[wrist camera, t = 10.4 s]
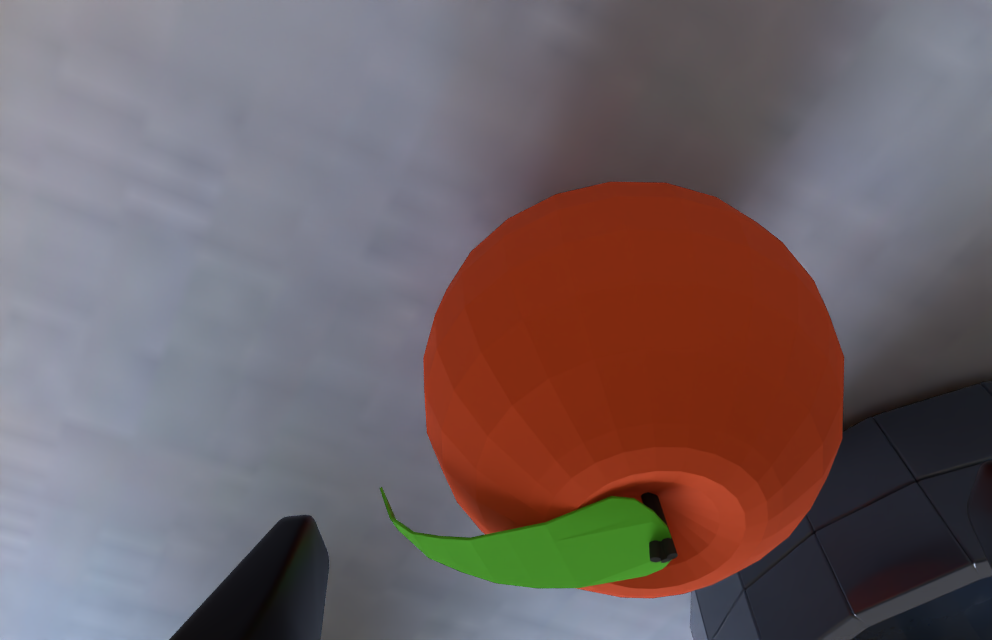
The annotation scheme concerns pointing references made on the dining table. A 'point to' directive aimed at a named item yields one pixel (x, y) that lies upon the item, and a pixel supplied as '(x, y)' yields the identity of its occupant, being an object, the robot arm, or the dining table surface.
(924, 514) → the fruit bowl
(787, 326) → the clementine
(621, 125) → the dining table surface
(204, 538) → the dining table surface
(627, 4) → the dining table surface
